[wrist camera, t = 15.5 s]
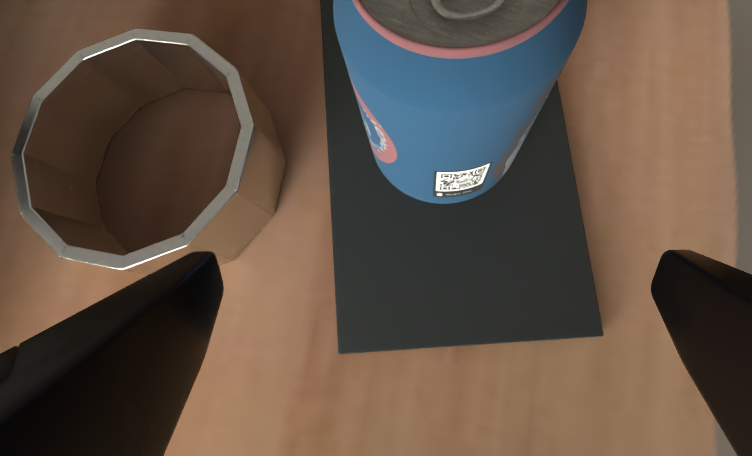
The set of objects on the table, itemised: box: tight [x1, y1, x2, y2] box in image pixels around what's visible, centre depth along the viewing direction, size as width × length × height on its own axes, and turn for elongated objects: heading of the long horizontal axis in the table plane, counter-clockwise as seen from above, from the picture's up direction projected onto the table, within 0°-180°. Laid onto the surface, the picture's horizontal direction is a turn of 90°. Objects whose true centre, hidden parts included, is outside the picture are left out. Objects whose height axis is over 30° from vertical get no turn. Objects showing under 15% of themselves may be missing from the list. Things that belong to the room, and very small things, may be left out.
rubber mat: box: [320, 0, 603, 354], centre depth 22 cm, size 20×12×1 cm, turn 5°
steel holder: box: [11, 28, 286, 274], centre depth 21 cm, size 11×11×4 cm
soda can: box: [333, 0, 587, 204], centre depth 16 cm, size 7×7×12 cm
